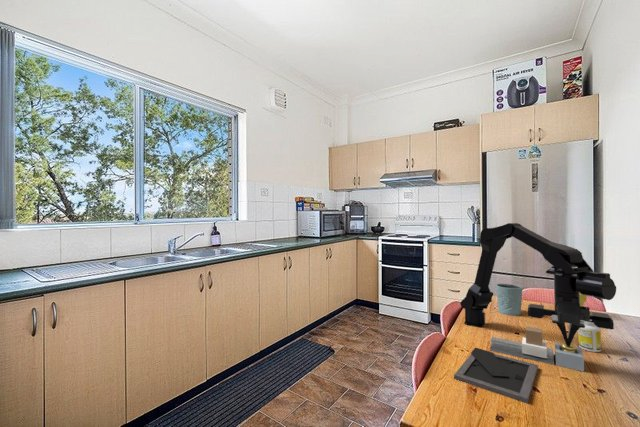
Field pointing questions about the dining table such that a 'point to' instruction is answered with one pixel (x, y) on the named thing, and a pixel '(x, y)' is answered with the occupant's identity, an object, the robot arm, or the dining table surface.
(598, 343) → the supplement bottle
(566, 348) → the button
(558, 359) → the grey notched block
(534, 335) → the carriage
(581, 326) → the robot arm
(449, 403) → the dining table surface
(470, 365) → the picture frame
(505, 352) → the rail
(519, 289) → the teal embossed planter
